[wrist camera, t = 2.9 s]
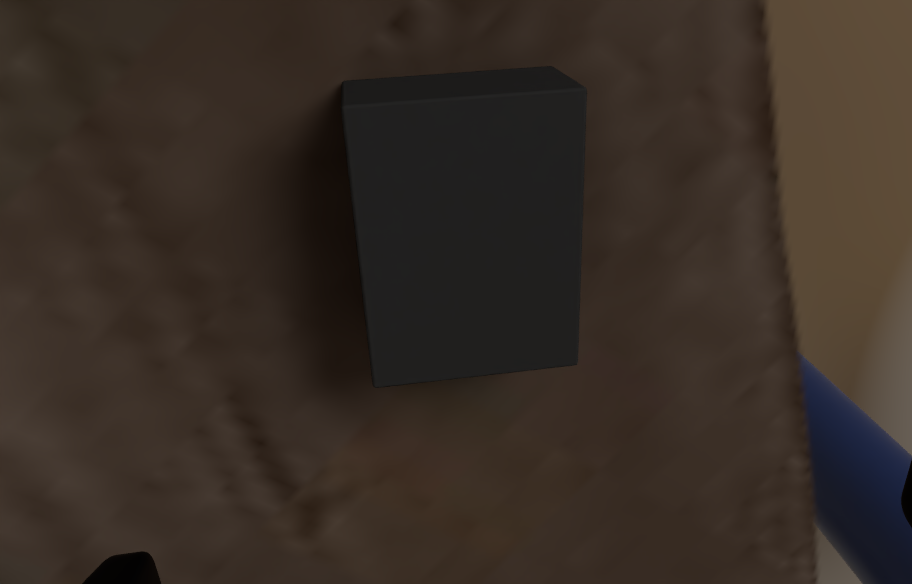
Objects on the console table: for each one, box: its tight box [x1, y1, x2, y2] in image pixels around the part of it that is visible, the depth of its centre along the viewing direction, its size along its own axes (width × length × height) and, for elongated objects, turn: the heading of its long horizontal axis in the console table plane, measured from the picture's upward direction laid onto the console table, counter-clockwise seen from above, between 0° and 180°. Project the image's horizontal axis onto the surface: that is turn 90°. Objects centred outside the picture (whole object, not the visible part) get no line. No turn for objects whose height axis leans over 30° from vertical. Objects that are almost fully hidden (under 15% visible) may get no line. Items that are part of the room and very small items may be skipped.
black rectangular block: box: [341, 66, 587, 388], centre depth 16 cm, size 6×4×2 cm
